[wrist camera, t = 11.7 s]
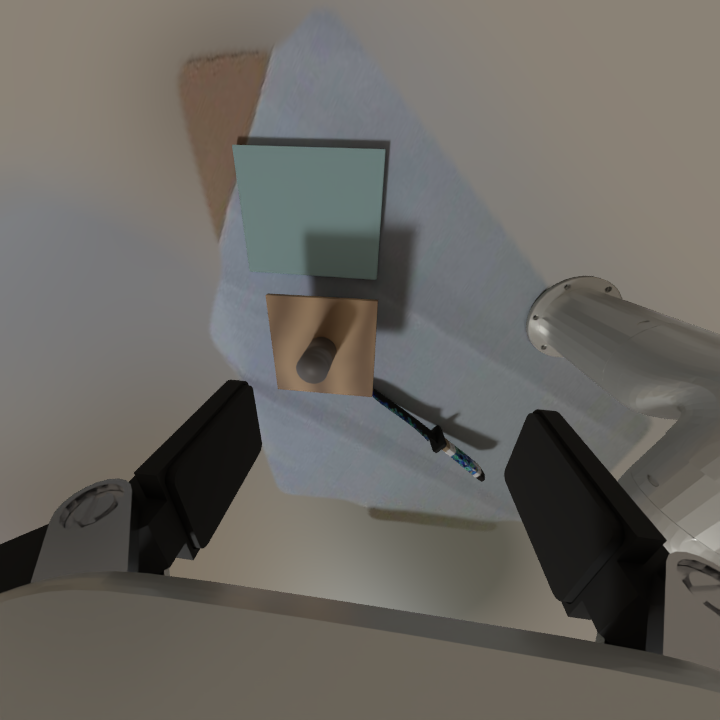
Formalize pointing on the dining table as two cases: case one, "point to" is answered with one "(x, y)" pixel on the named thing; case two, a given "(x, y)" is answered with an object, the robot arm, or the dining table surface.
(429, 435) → the knife
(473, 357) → the dining table surface
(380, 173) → the mat
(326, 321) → the lid
